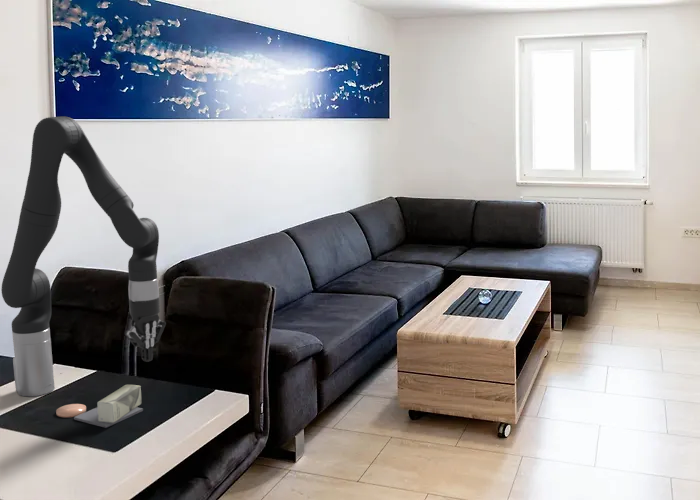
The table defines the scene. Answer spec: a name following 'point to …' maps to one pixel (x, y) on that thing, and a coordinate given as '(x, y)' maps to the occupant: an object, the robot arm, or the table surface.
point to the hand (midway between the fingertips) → (147, 360)
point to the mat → (92, 418)
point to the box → (119, 403)
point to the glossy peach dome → (71, 410)
